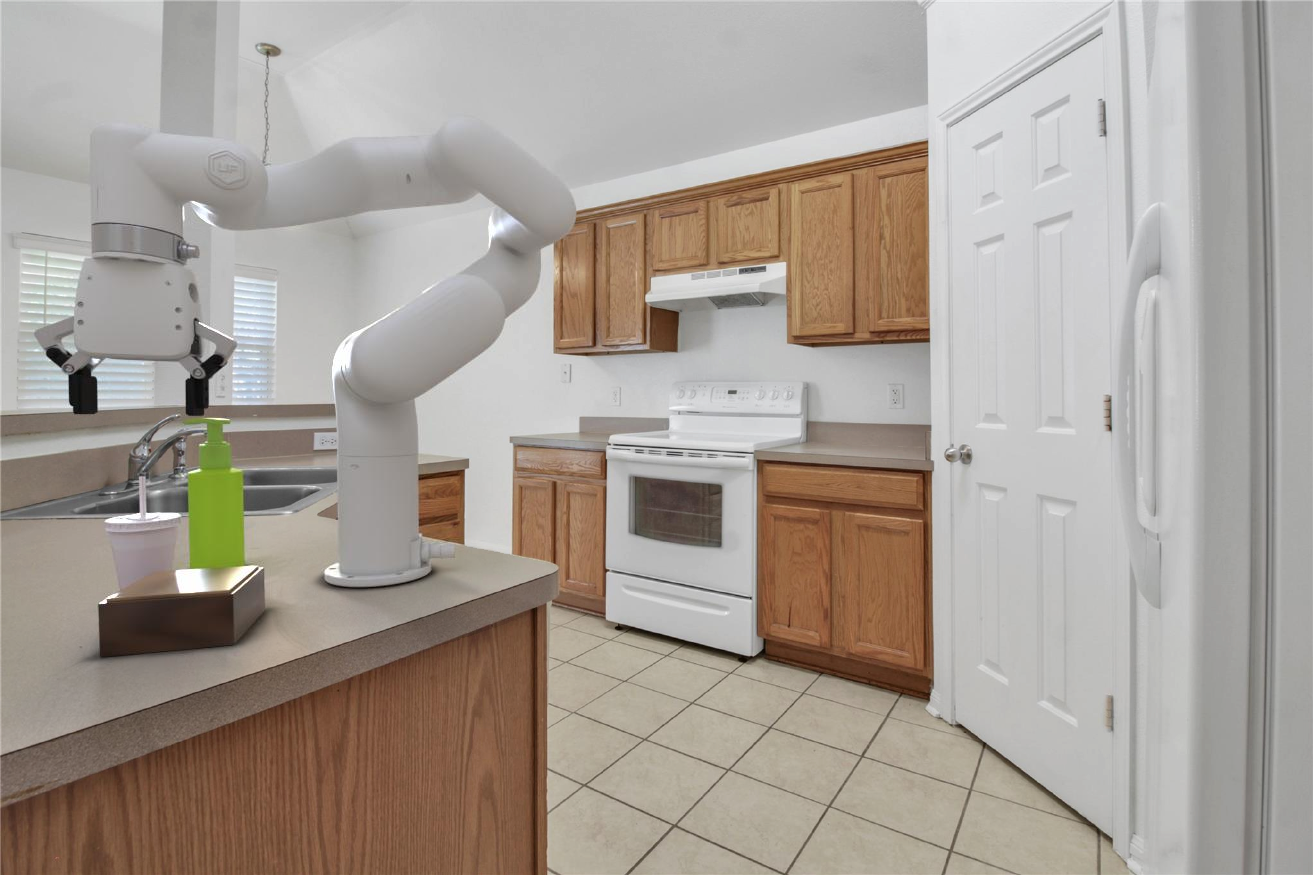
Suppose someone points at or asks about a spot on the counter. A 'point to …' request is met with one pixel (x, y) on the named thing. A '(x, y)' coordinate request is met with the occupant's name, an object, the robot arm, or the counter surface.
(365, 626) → the counter surface
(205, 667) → the counter surface
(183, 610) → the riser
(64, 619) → the counter surface
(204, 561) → the soap dispenser
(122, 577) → the smoothie
